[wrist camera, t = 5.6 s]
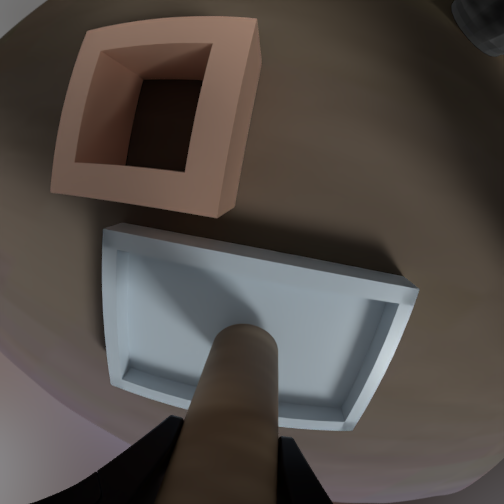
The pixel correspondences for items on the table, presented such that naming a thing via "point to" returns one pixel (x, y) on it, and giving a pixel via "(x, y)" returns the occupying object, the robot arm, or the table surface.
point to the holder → (125, 102)
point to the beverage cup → (482, 23)
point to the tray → (248, 320)
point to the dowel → (229, 426)
